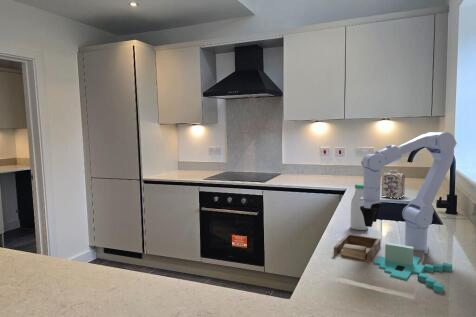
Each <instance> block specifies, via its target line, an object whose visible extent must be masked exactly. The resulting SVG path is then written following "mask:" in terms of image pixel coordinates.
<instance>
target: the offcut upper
mask: <svg viewBox="0 0 476 317" xmlns="http://www.w3.org/2000/svg"><path fill="white" fill-rule="evenodd" d="M343 251H346V252H352V253H358V254H365V252H366V247H363V246H357V245H350V244H345V245H344V246H343Z"/></svg>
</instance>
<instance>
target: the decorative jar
mask: <svg viewBox="0 0 476 317" xmlns="http://www.w3.org/2000/svg"><path fill="white" fill-rule="evenodd" d="M405 188H406V176H405V174H404V173H402V172H401V173H400V172H398V170H396V169H390V170H389V172H387V171H386V172H384V173H383V175H382V176H381V197H382V196H386V197H395V198H400V197H402V196H403V195H404V196H405V191H406V190H405Z"/></svg>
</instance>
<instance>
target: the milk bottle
mask: <svg viewBox="0 0 476 317" xmlns="http://www.w3.org/2000/svg"><path fill="white" fill-rule="evenodd" d="M363 186H364V183H356V184H355V185H354V190H355V191H354V194H353V196H352V198H351V201H350V228H351V229H353V230H356V231H366V230H368V229H369V227H368V226H365V222H364V217H363V214H362V211H361V210H360V206H364V202H363V201H362V200H360V198H363Z"/></svg>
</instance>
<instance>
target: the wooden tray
mask: <svg viewBox="0 0 476 317" xmlns="http://www.w3.org/2000/svg"><path fill="white" fill-rule="evenodd" d="M381 241H382V239H381V238H378V237H377V238H376V237H370V236H366V235H360V234H352V233H347V234H346V235H345V236H343V237H342V238H341V239H340V240H338V242H337V243H336V244H335V245H334V246H333V257H337V258H342V259H343V258H344V259H348V260H353V261H359V262H362V263H363V262H364V263H369V264H370V263H371V262H372V261H373V259H374V258H375V256H376V255H377V253H378V251H379V250H380V249H381ZM345 244H350V245H357V246H363V247H366V251H367V252H368V253H367V258H366V259H360V258H355V257H349V256H344V255H341V250H342V249H343V246H344V245H345Z"/></svg>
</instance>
